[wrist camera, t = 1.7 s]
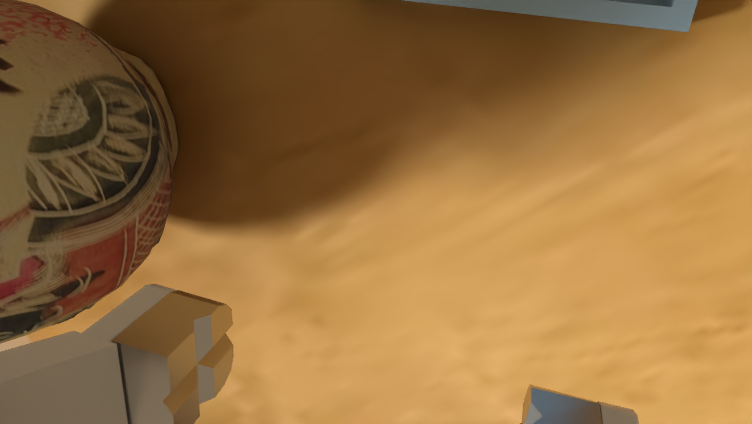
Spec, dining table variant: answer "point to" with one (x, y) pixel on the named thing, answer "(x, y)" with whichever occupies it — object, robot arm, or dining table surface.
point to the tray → (595, 10)
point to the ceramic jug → (75, 167)
